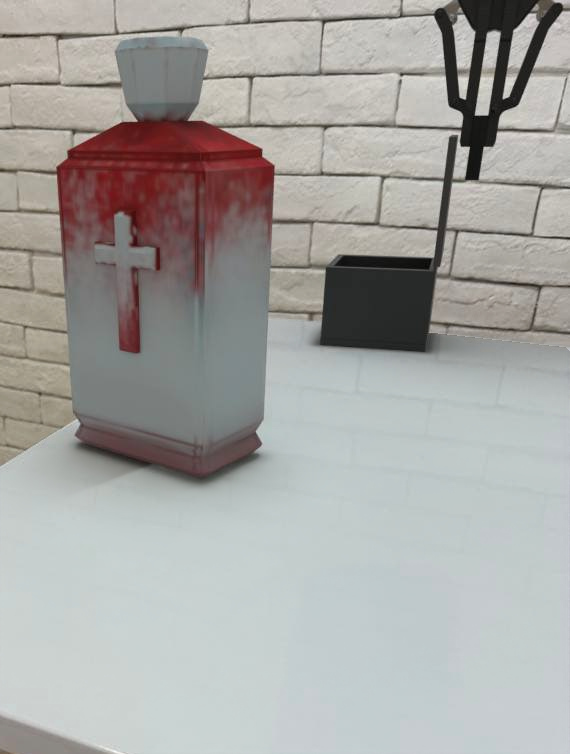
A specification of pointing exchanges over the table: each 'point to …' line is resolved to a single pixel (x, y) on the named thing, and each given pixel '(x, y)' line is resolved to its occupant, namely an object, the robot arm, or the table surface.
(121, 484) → the table surface
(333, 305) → the black storage bin
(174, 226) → the bottle
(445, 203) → the lid
